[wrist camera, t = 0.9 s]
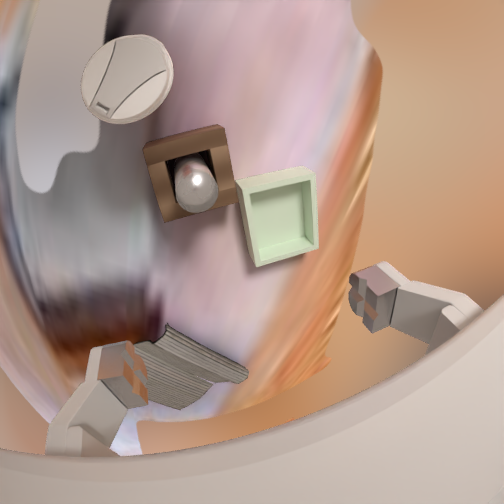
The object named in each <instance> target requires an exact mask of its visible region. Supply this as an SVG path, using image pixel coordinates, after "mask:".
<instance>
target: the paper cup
mask: <svg viewBox="0 0 504 504" xmlns="http://www.w3.org/2000/svg"><path fill="white" fill-rule="evenodd" d="M173 75H174V73H173V64H172V60H171V57H170V55H169V53H168V52H167V50H166V49H165V47H164V45H163V43H162V42H160V41H159V40H157V39H155V38H153V37H151V36H148V35H144V34H142V35H128V36H123V37H119V38H116V39H114V40H112V41H110V42H108V43H106V44H105V45H103V46H102V47H101V48H100V49H98V50H97V51H96V52H95V53H94V55H93V56H92V57H91V58H90V60H89V61H88V63H87V65H86V67H85V69H84V71H83V75H82V80H81V93H82V98H83V101H84V103H85V105H86V107H87V108H88V110H89V111H90V112H91V113H92V114H93V115H94V116H96V117H97V118H98V119H100V120H102V121H104V122H108V123H112V124H127V123H132V122H135V121H138V120H141V119H143V118H145V117H147V116H148V115H149V114H151V113H152V112H154V111H155V110H156V109H157V108H158V107H159V106H160V105H161V104H162V102H163V101H164V100H165V98H166V97H167V95H168V93H169V91H170V89H171V85H172V82H173Z"/></svg>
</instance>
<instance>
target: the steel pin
mask: <svg viewBox="0 0 504 504" xmlns="http://www.w3.org/2000/svg"><path fill="white" fill-rule="evenodd" d="M174 175H175V189H176V198H177V201H178V203H179V205H180V206H181V207H182V208H183V209H185V210H186V211H189V212H193V213H200V212H203V211H206V210H208V209H209V208H211V207H212V206H213V205H214V203H215V202H216V200H217V197H218V186H217V183H216V181H215V179H214V178H213V176H212V174H211V172H210V170H209V169H208V167H207V165H206V163H205V161H204V160H203V158H202V157H201V155H199V154H198V153H192V154H188V155H184V156H181V157H177V159H176V161H175V163H174Z"/></svg>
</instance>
